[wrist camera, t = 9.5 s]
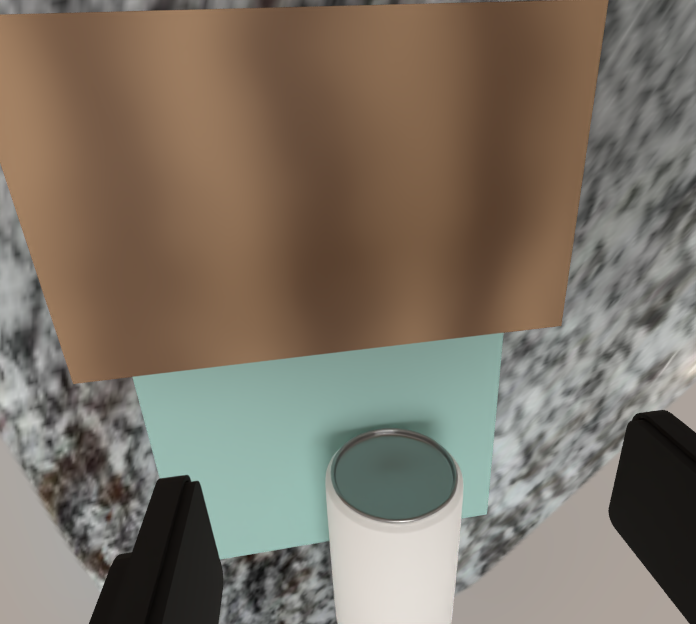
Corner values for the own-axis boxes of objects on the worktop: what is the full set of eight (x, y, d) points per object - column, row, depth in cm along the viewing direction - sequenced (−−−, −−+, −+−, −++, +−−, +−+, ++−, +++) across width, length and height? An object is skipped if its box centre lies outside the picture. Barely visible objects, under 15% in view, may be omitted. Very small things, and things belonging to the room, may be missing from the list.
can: (494, 475, 21) (474, 634, 26) (396, 407, 26) (395, 554, 31) (388, 557, 18) (389, 722, 23) (297, 462, 22) (315, 617, 27)
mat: (502, 299, 23) (506, 302, 23) (484, 509, 29) (486, 514, 28) (126, 340, 21) (123, 344, 21) (184, 559, 27) (183, 565, 26)
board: (550, 18, 19) (608, -1, 15) (521, 297, 23) (561, 325, 20) (13, 35, 16) (-49, 15, 13) (102, 342, 21) (73, 383, 18)
